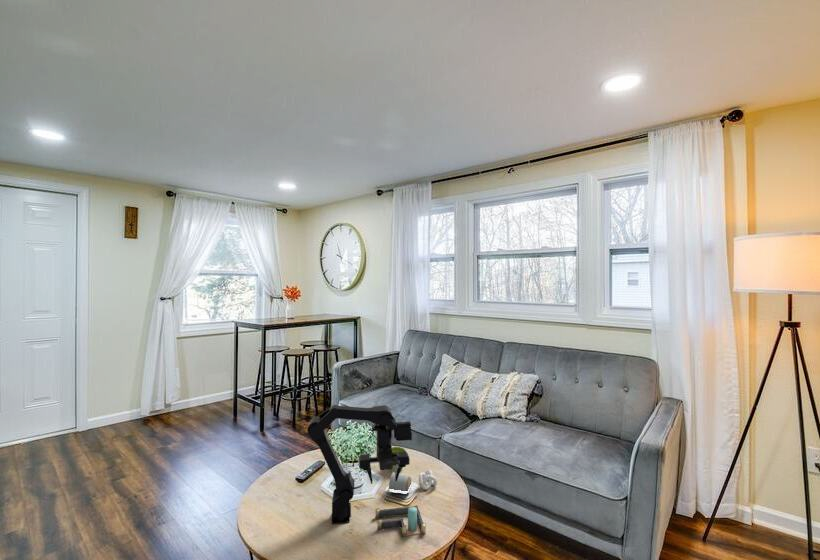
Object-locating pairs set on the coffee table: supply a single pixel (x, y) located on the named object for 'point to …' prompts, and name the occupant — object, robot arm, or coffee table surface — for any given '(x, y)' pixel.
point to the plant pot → (395, 450)
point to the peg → (412, 519)
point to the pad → (413, 532)
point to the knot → (427, 479)
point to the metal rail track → (397, 522)
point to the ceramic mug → (400, 482)
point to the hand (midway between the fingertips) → (383, 482)
